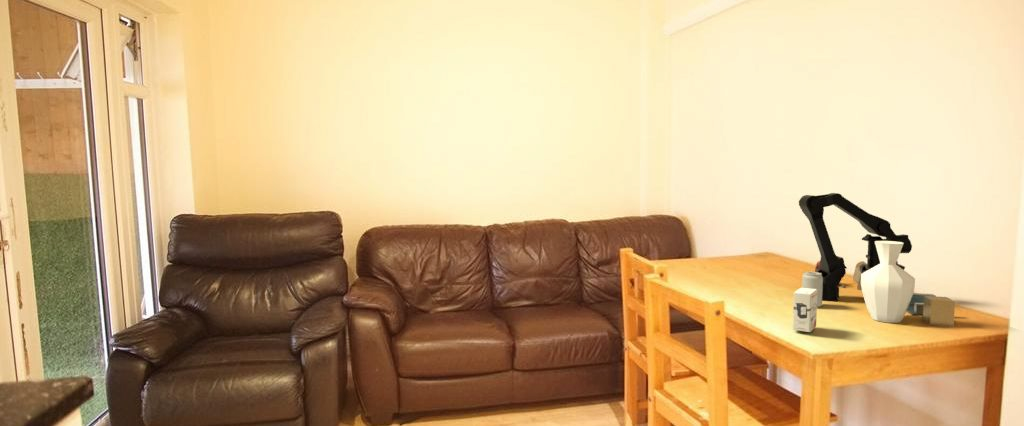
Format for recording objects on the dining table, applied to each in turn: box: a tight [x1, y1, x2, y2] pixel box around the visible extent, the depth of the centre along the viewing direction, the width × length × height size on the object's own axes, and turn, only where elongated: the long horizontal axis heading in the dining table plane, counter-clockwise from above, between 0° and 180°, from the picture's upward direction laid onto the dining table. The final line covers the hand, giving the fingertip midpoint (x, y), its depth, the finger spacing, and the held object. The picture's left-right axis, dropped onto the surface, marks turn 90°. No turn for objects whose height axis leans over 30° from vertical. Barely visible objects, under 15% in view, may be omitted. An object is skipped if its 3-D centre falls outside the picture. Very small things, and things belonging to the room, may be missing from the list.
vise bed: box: [906, 304, 923, 317], centre depth 187 cm, size 11×16×1 cm
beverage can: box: [801, 271, 823, 309], centre depth 194 cm, size 6×6×12 cm
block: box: [922, 295, 956, 328], centre depth 171 cm, size 6×6×8 cm
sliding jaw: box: [909, 292, 936, 304], centre depth 194 cm, size 18×2×3 cm, turn 71°
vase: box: [861, 241, 916, 324], centre depth 176 cm, size 14×14×25 cm
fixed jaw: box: [914, 303, 924, 314], centre depth 180 cm, size 10×2×3 cm, turn 71°
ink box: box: [792, 287, 818, 333], centre depth 167 cm, size 8×5×12 cm, turn 140°
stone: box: [852, 260, 867, 291], centre depth 222 cm, size 19×10×4 cm
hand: (875, 295), depth 201 cm, fingers closed
